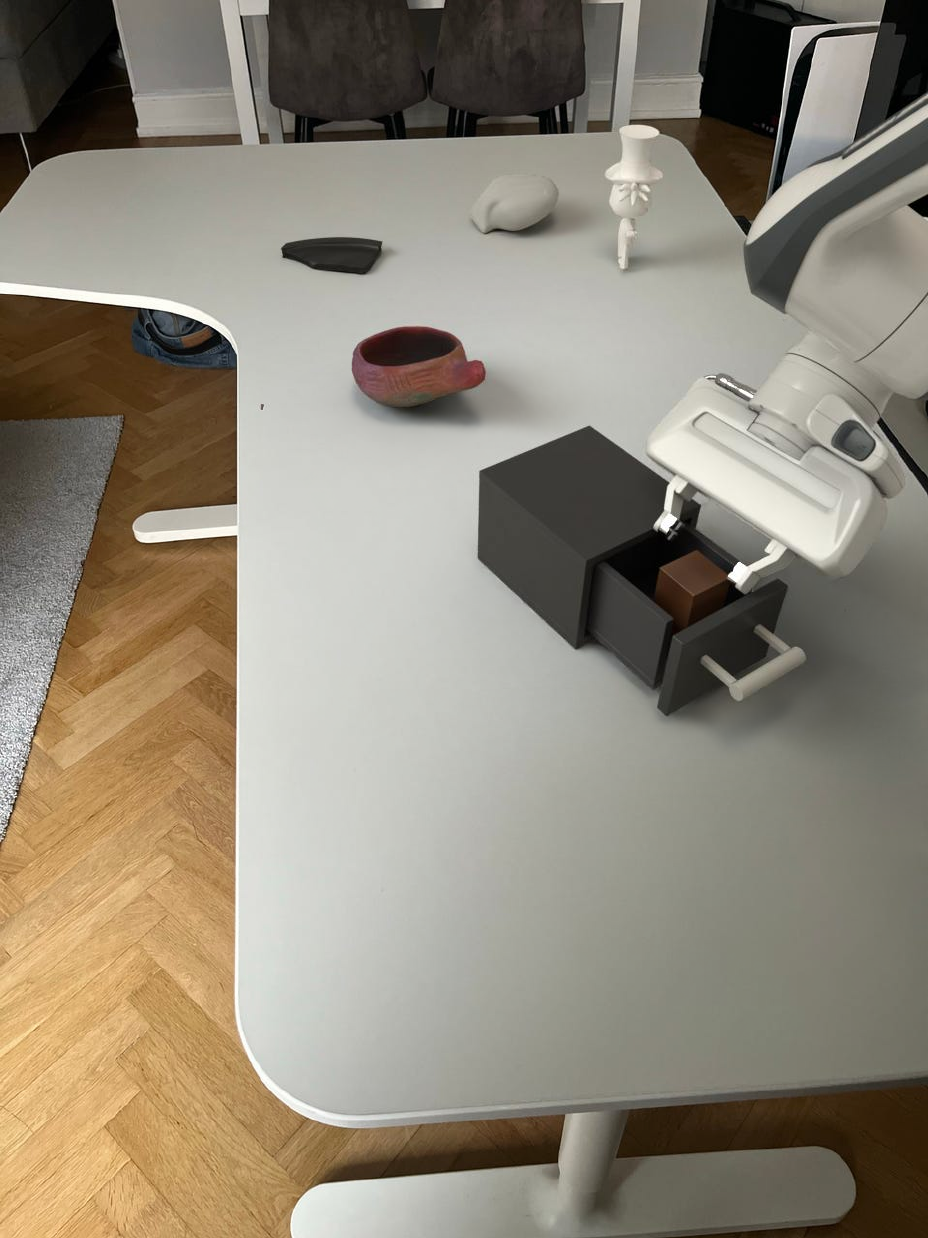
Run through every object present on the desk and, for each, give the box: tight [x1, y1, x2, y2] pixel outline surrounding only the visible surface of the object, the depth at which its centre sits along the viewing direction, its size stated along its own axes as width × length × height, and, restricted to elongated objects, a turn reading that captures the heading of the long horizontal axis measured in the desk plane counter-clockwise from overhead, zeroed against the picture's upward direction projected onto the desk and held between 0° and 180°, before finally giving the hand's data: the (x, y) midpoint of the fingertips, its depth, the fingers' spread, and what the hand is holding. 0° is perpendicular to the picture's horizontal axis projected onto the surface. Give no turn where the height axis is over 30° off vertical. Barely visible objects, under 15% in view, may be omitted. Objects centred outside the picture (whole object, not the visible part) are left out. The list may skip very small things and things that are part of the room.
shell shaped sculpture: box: [469, 173, 560, 234], centre depth 149 cm, size 13×13×6 cm
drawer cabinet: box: [477, 425, 702, 650], centre depth 90 cm, size 15×13×10 cm
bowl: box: [351, 325, 487, 408], centre depth 113 cm, size 16×13×8 cm
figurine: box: [604, 124, 664, 270], centre depth 135 cm, size 10×8×18 cm
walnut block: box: [653, 550, 730, 656], centre depth 82 cm, size 4×4×8 cm
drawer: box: [585, 520, 807, 717], centre depth 82 cm, size 18×12×8 cm, turn 35°
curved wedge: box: [280, 236, 383, 274], centre depth 142 cm, size 8×14×2 cm, turn 74°
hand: (697, 560), depth 80 cm, fingers open, 7 cm apart
